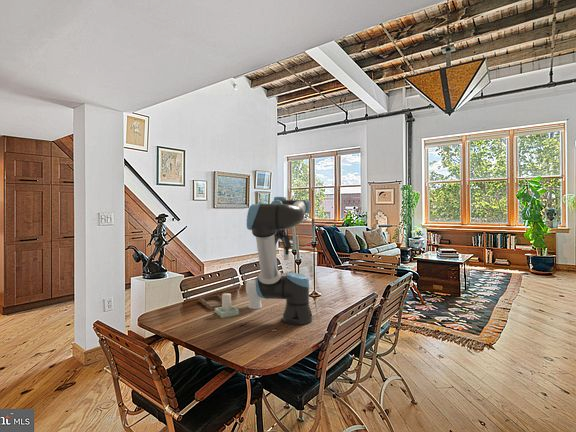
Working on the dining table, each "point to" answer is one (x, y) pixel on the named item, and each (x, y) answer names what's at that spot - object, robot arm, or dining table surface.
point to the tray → (211, 301)
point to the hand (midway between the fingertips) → (280, 258)
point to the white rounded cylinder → (226, 302)
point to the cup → (253, 295)
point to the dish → (233, 312)
